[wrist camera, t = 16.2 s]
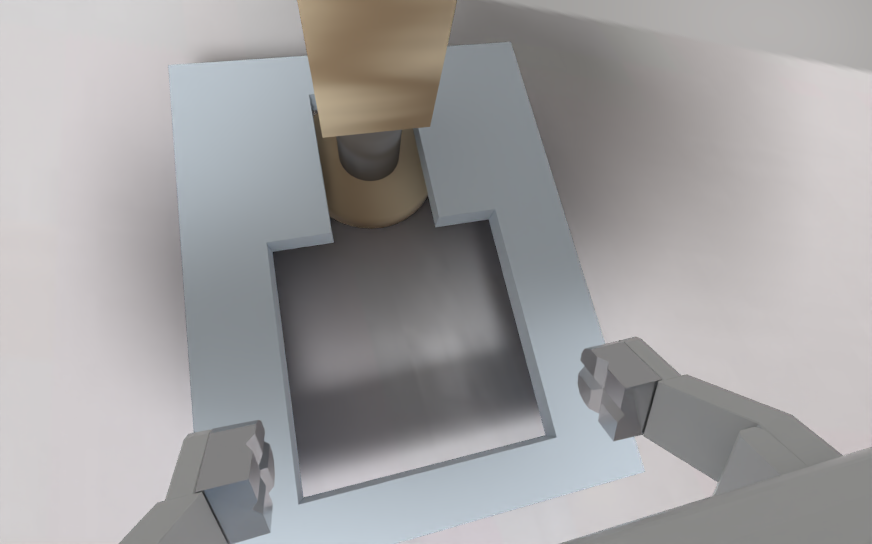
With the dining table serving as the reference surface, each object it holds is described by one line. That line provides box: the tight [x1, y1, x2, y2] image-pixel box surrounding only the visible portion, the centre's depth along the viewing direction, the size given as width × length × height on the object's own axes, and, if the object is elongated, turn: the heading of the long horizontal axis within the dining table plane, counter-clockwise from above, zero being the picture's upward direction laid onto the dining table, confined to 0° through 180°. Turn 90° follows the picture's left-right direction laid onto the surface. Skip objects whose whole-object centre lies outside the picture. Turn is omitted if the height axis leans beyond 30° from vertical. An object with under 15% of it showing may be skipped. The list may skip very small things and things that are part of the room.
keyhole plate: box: [168, 42, 645, 544], centre depth 17 cm, size 14×18×3 cm
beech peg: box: [297, 0, 457, 229], centre depth 15 cm, size 6×6×11 cm
